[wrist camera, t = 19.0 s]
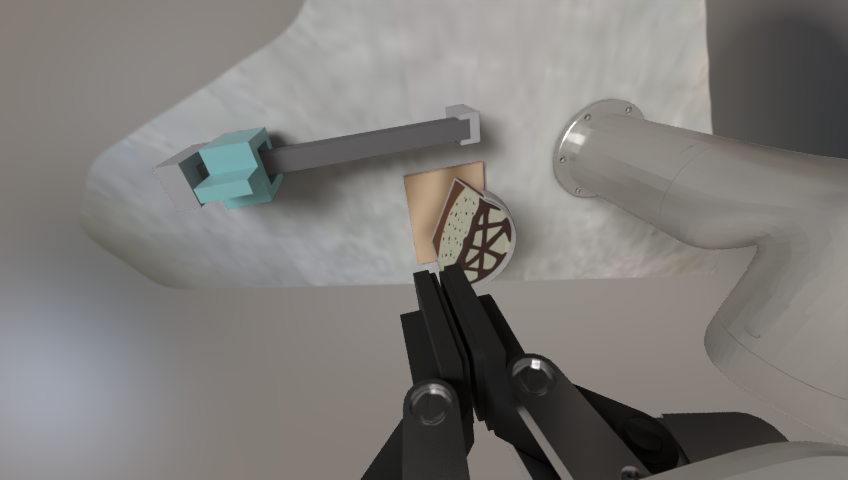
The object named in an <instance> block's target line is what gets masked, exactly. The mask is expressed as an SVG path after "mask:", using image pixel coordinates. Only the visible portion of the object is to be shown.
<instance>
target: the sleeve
mask: <svg viewBox="0 0 848 480" xmlns="http://www.w3.org/2000/svg"><path fill="white" fill-rule="evenodd" d="M268 149H273V147H272V144H271V142H270V139H269V136H268V134H267V131H266V128H265V127H262V128H256V129H250V130H244V131H238V132H232V133H226V134H223V135H221V136H220V137H218V138H217V139H215V140H213V141H212V142H210V143H209V144H207V145H206V146H204V147H202V148H201V149H199V150H198V151H199V153H200V155H201V157H202V159H203V161H204V163H205V165H206V168H207V170H208V172H209V174H210V176H208V177H207V178H206V179H205V180H204V181H203V182H202V183H200V184H199V185H198V186H197V187H196V188H195V189H193V190H194V191H195V193H196V195H197V197H198V199H199V201H200V203H207V202H212V201H217V200H223V202H224V204H225V206H226V208H227V210H229V209H234V208H239V207H244V206H250V205H255V204H260V203H265V202H270V201H272V200H273V198H274V196H275V195H276V193H277V191H278V189H279V187H280V185H281V183H282V181H283V179H284V177H283V174H282V173H281V174H276V175H270V176H267V173H266V171H265V168H264V166H263V163H262V161H261V158H260V156H259V153H258V151H262V150H268Z"/></svg>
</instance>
